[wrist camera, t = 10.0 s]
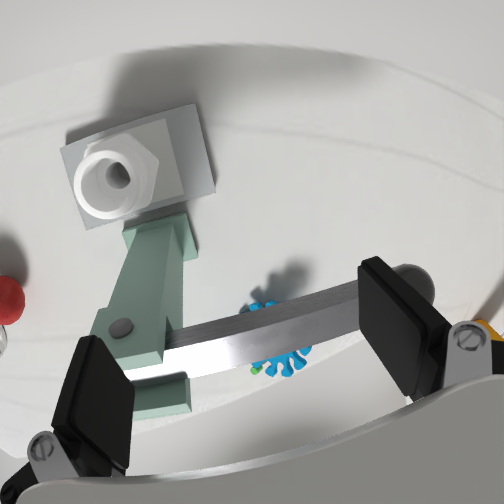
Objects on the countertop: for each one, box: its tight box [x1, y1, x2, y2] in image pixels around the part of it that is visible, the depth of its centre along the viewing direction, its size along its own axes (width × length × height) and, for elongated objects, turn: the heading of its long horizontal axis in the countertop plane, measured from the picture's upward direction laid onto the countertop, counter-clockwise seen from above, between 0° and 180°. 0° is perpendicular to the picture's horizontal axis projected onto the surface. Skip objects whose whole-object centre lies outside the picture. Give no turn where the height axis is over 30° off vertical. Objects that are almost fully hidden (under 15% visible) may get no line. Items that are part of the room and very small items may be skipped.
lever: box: [124, 264, 435, 388], centre depth 16 cm, size 20×4×4 cm, turn 101°
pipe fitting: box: [74, 133, 159, 219], centre depth 23 cm, size 6×7×8 cm
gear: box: [249, 300, 312, 377], centre depth 38 cm, size 11×6×10 cm
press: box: [60, 103, 216, 421], centre depth 21 cm, size 14×16×20 cm
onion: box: [0, 276, 25, 325], centre depth 27 cm, size 6×6×8 cm
